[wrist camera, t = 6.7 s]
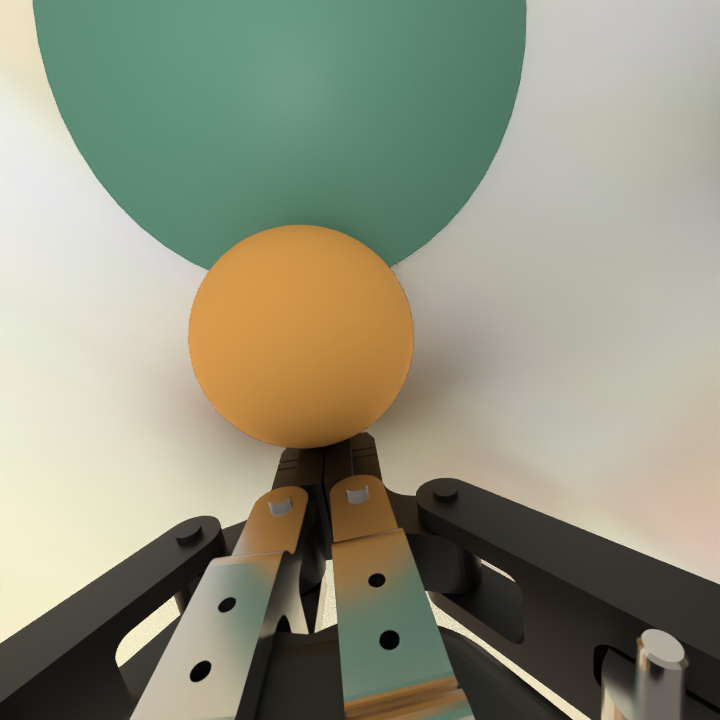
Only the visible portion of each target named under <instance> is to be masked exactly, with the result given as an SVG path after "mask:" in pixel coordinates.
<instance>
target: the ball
mask: <svg viewBox="0 0 720 720" xmlns="http://www.w3.org/2000/svg"><path fill="white" fill-rule="evenodd" d="M188 343H189V351H190V357H191V363H192V366H193V369H194V372H195V375H196V378H197V380H198V382H199V384H200V386H201V388H202V390H203V392H204V394H205V395H206V397H207V398H208V399H209V401H210V402H211V403H212V405H213V406H214V407H215V409H216V410H217V411H218V412H219V413H220V414H221V415H222V416H223V417H224V418H225V419H226V420H227V421H229V422H230V423H231V424H232V425H233V426H235V427H236V428H238V429H239V430H241V431H242V432H244V433H246V434H248V435H249V436H251V437H253V438H255V439H258V440H261V441H264V442H266V443H269V444H272V445H276V446H281V447H289V448H301V449H302V448H317V447H324V446H328V445H332V444H336V443H338V442H341V441H344V440H346V439H349V438H351V437H353V436H355V435H357V434H358V433H360V432H362V431H363V430H365V429H366V428H368V427H369V426H370V425H372V424H373V423H374V422H375V421H376V420H377V419H378V418H379V417H380V416H381V415H382V414H383V413H384V412H385V411H386V410H387V409H388V408H389V407H390V406H391V404H392V403H393V402H394V400H395V399H396V397H397V395H398V393H399V392H400V390H401V388H402V386H403V385H404V382H405V380H406V377H407V374H408V371H409V368H410V365H411V360H412V354H413V347H414V333H413V320H412V315H411V311H410V307H409V303H408V301H407V298H406V295H405V293H404V291H403V289H402V287H401V285H400V283H399V281H398V280H397V278H396V276H395V275H394V273H393V272H392V271H391V269H390V268H389V267H388V266H387V264H386V263H385V262H384V261H383V260H382V259H381V258H380V257H379V256H378V255H377V254H376V253H375V252H374V251H372V250H371V249H370V248H368V247H367V246H366V245H364V244H363V243H361V242H360V241H358V240H356V239H354V238H352V237H350V236H348V235H346V234H344V233H342V232H339V231H336V230H332V229H329V228H325V227H320V226H313V225H287V226H281V227H276V228H272V229H268V230H265V231H262V232H259V233H257V234H254V235H252V236H250V237H248V238H246V239H244V240H242V241H241V242H239V243H238V244H236V245H235V246H234V247H232V248H231V249H230V250H228V251H227V252H226V253H225V254H224V255H223V256H222V257H221V258H220V259H219V260H218V261H217V262H216V263H215V264H214V266H213V267H212V268H211V269H210V270H209V272H208V273H207V275H206V277H205V278H204V280H203V282H202V283H201V285H200V287H199V289H198V292H197V294H196V297H195V299H194V302H193V305H192V309H191V314H190V319H189V334H188Z"/></svg>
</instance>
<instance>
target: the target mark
mask: <svg viewBox="0 0 720 720" xmlns="http://www.w3.org/2000/svg"><path fill="white" fill-rule="evenodd" d="M33 10H34V17H35V23H36V30H37V37H38V44H39V48H40V52H41V55H42V59H43V63H44V67H45V71H46V75H47V79H48V82H49V85H50V87H51V90H52V93H53V95H54V98H55V101H56V103H57V106H58V109H59V111H60V114H61V116H62V118H63V120H64V122H65V124H66V126H67V128H68V130H69V132H70V134H71V136H72V138H73V140H74V142H75V144H76V146H77V148H78V150H79V151H80V153H81V154H82V156H83V158H84V159H85V161H86V162H87V164H88V165H89V167H90V168H91V170H92V172H93V173H94V175H95V176H96V178H97V179H98V180H99V181H100V183H101V184H102V185H103V186H104V188H105V189H106V190H107V191H108V193H109V194H110V195H111V196H112V198H113V199H114V200H115V201H116V202H117V204H118V205H119V206H120V207H121V208H122V209H123V210H124V211H125V212H126V213H127V214H128V215H129V216H130V217H131V218H132V219H133V220H134V221H135V222H136V223H137V224H138V225H139V226H140V227H142V228H143V229H144V230H145V231H147V232H148V233H149V234H150V235H152V236H153V237H154V238H156V239H157V240H158V241H159V242H161V243H162V244H163V245H164V246H166V247H167V248H169V249H171V250H172V251H174V252H176V253H177V254H179V255H180V256H182V257H184V258H185V259H187V260H189V261H190V262H192V263H194V264H196V265H198V266H201V267H203V268H205V269H207V270H210V269H211V268H212V267H213V266H214V264H215V263H216V262H217V261H218V260H219V259H220V258H221V257H222V256H223V255H224V254H225V253H226V252H227V251H228V250H230V249H231V248H232V247H234V246H235V245H236V244H238V243H239V242H241V241H242V240H244V239H246V238H248V237H250V236H252V235H254V234H257V233H259V232H262V231H265V230H268V229H272V228H276V227H281V226H287V225H313V226H320V227H325V228H329V229H332V230H336V231H339V232H342V233H344V234H346V235H348V236H350V237H352V238H354V239H356V240H358V241H360V242H361V243H363V244H364V245H366V246H367V247H368V248H370V249H371V250H372V251H374V252H375V253H376V254H377V255H378V256H379V257H380V258H381V259H382V260H383V261H384V262H385V263H386V264H387V266H388V267H390V266H392V265H394V264H395V263H397V262H399V261H401V260H403V259H405V258H406V257H407V256H409V255H410V254H412V253H413V252H415V251H416V250H418V249H419V248H420V247H422V246H423V245H425V244H426V243H427V242H428V241H429V240H431V239H432V238H433V237H434V236H435V235H436V234H437V233H438V232H439V231H441V230H442V229H443V228H444V227H445V226H446V225H447V224H448V223H449V222H450V221H451V220H452V218H453V217H454V216H455V215H456V214H457V213H458V211H459V210H460V209H461V208H462V207H463V206H464V205H465V203H466V202H467V201H468V199H469V198H470V196H471V195H472V194H473V192H474V191H475V189H476V188H477V186H478V185H479V183H480V182H481V180H482V179H483V177H484V176H485V174H486V172H487V170H488V168H489V166H490V164H491V162H492V160H493V158H494V156H495V154H496V152H497V151H498V149H499V147H500V144H501V141H502V139H503V136H504V133H505V131H506V128H507V125H508V123H509V120H510V118H511V115H512V111H513V107H514V103H515V99H516V95H517V91H518V87H519V84H520V78H521V71H522V64H523V57H524V50H525V35H526V0H33Z"/></svg>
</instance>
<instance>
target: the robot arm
mask: <svg viewBox="0 0 720 720" xmlns="http://www.w3.org/2000/svg"><path fill="white" fill-rule="evenodd" d="M332 559H333V571H334V584H335V596H336V609H337V621H338V624H335V625H333V626H330V627H328V628H326V629H323V630H321V627H322V619H323V611H324V603H325V595H326V586H327V584H326V579H325V574H324V573H325V568H326V560H332ZM481 559H483V560H484V561H486V562H488V563H490V564H492V565H493V566H495V567H497V568H499V569H501V570H502V571H504V572H506V573H507V574H508V575H510V576H511V577H512V578H513V579H514V580H515V582H514V581H512V580H510V579H509V578H507V577H505V576H503V575H502V574H500V573H498V572H496V571H494V570H493V569H491V568H489V567H487V566H486V565H484V564H482V563H481ZM425 591H428V594H429V597H430V599H431V601H432V602H433V603H434V604H435V605H436V606H437V607H438V608H440V609H441V610H442V611H444V612H445V613H446V614H448V615H449V616H451V617H452V618H453V619H455V620H456V621H457V622H459V623H460V624H461V625H463V626H464V627H466V628H467V629H468V630H470V631H471V632H472V633H474V634H475V635H476V636H478V637H479V638H481V639H482V640H483V641H485V642H486V643H487V644H489V645H490V646H492V647H493V648H494V649H496V650H497V651H498V652H500V653H501V654H502V655H504V656H505V657H507V658H508V659H509V660H511V661H512V662H513V663H515V664H516V665H518V666H519V667H520V668H522V669H523V670H524V671H526V672H527V673H528V674H530V675H531V676H533V677H534V678H535V679H537V680H538V681H539V682H541V683H542V684H543V685H545V686H546V687H548V688H549V689H550V690H552V691H553V692H554V693H556V694H557V695H559V696H560V697H561V698H563V699H564V700H565V701H567V702H568V703H569V704H571V705H572V706H574V707H575V708H576V709H578V710H579V711H580V712H582V713H583V714H584V715H586V716H587V717H589V718H590V719H591V720H720V585H719V584H717V583H715V582H712V581H710V580H707V579H705V578H702V577H700V576H697V575H695V574H692V573H690V572H687V571H685V570H682V569H680V568H677V567H675V566H672V565H670V564H667V563H665V562H662V561H660V560H657V559H655V558H653V557H650V556H648V555H645V554H643V553H640V552H638V551H635V550H633V549H630V548H628V547H625V546H623V545H620V544H618V543H615V542H613V541H610V540H608V539H605V538H603V537H600V536H598V535H595V534H593V533H591V532H588V531H586V530H583V529H581V528H578V527H576V526H573V525H571V524H568V523H566V522H563V521H561V520H558V519H556V518H553V517H551V516H548V515H546V514H543V513H541V512H538V511H536V510H533V509H531V508H528V507H526V506H524V505H521V504H519V503H516V502H514V501H511V500H509V499H506V498H504V497H501V496H499V495H496V494H494V493H491V492H489V491H486V490H484V489H481V488H479V487H476V486H474V485H471V484H469V483H466V482H464V481H461V480H458V479H453V478H439V479H434V480H431V481H428V482H426V483H424V484H423V485H422V486H421V487H420V488H419V489H418V490H417V492H416V496H408V495H401V494H397V493H394V492H392V491H390V490H389V489H387V488H386V487H385V486H384V484H383V482H382V477H381V472H380V466H379V461H378V456H377V451H376V446H375V440H374V438H373V437H372V436H371V435H370V434H368V433H367V432H363V433H358V434H357V435H355V436H353V437H351V438H349V439H346V440H344V441H341V442H338V443H336V444H332V445H328V446H324V447H317V448H302V449H301V448H289V447H287V448H286V449H285V450H284V451H283V452H282V455H281V458H280V464H279V465H278V469H277V472H276V476H275V479H274V483H273V486H272V490H271V491H270V492H268V493H266V494H265V495H263V496H262V497H261V498H259V499H258V500H257V502H256V503H255V505H254V507H253V509H252V511H251V513H250V516H249V518H248V520H246V521H243V522H241V523H238V524H236V525H233V526H230V527H228V528H225V529H222V528H221V525H220V522H219V520H218V519H217V518H215V517H212V516H199V517H194V518H191V519H188V520H186V521H183V522H181V523H180V524H178V525H176V526H174V527H173V528H171V529H170V530H168V531H167V532H166V533H164V534H163V535H161V536H160V537H158V538H157V539H155V540H154V541H152V542H151V543H149V544H148V545H146V546H145V547H143V548H142V549H140V550H139V551H137V552H136V553H134V554H133V555H131V556H130V557H128V558H127V559H125V560H124V561H122V562H121V563H119V564H118V565H116V566H115V567H113V568H112V569H110V570H109V571H108V572H106V573H105V574H103V575H102V576H100V577H99V578H97V579H96V580H94V581H93V582H91V583H90V584H88V585H87V586H85V587H84V588H82V589H81V590H79V591H78V592H76V593H75V594H73V595H72V596H70V597H69V598H67V599H66V600H64V601H63V602H61V603H60V604H58V605H57V606H55V607H54V608H53V609H51V610H50V611H48V612H47V613H45V614H44V615H42V616H41V617H39V618H38V619H36V620H35V621H33V622H32V623H30V624H29V625H27V626H26V627H24V628H23V629H21V630H20V631H18V632H17V633H15V634H14V635H12V636H11V637H9V638H8V639H6V640H5V641H3V642H2V643H0V720H573V719H571V718H570V717H569V716H568V715H566V714H565V713H564V712H563V711H561V710H560V709H559V708H558V707H556V706H555V705H554V704H553V703H551V702H550V701H549V700H548V699H546V698H545V697H544V696H543V695H541V694H540V693H539V692H538V691H536V690H535V689H534V688H533V687H531V686H530V685H529V684H528V683H526V682H525V681H524V680H522V679H521V678H520V677H519V676H517V675H516V674H515V673H514V672H512V671H511V670H510V669H509V668H507V667H506V666H505V665H504V664H502V663H501V662H500V661H499V660H497V659H496V658H495V657H494V656H492V655H491V654H490V653H489V652H487V651H486V650H485V649H484V648H482V647H481V646H480V645H478V644H477V643H475V642H474V641H472V640H470V639H469V638H467V637H466V636H464V635H462V634H459V633H457V632H455V631H453V630H450V629H447V628H444V627H441V626H437V624H436V621H435V618H434V615H433V612H432V609H431V607H430V604H429V601H428V598H427V595H426V592H425ZM173 596H174V597H175V600H176V603H177V606H178V609H179V612H180V616H179V617H177V618H176V619H175V620H174V621H173V622H172V623H170V624H169V625H168V626H167V627H166V628H165V629H164V630H162V631H161V632H160V633H159V634H158V635H157V636H156V637H154V638H153V639H152V640H151V641H150V642H149V643H147V644H146V645H145V646H144V647H143V648H142V649H141V650H139V651H138V652H137V653H136V654H135V655H134V656H133V657H131V658H130V659H129V660H128V661H127V662H126V663H124V664H123V665H122V666H120V667H119V668H118V666H117V663H116V660H115V656H116V651H117V648H118V646H119V644H120V642H121V641H122V639H123V638H124V637H125V636H126V635H127V634H128V633H129V632H130V631H131V630H132V629H133V628H135V627H136V626H137V625H138V624H139V623H141V622H142V621H143V620H144V619H146V618H147V617H148V616H149V615H150V614H152V613H153V612H154V611H155V610H157V609H158V608H159V607H160V606H162V605H163V604H164V603H165V602H166V601H168V600H169V599H170V598H171V597H173Z"/></svg>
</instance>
